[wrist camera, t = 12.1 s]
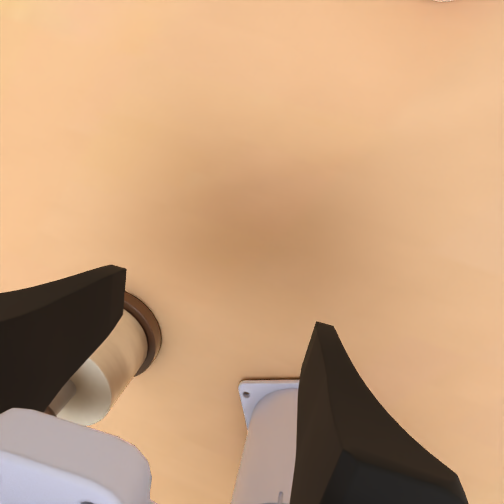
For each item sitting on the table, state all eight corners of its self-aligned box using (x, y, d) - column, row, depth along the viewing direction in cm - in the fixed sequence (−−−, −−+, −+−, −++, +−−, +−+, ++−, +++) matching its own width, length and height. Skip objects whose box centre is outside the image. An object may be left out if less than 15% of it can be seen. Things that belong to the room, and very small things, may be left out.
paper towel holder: (155, 381, 29) (38, 570, 17) (69, 355, 30) (-100, 519, 18) (167, 303, 27) (39, 462, 15) (73, 275, 27) (-123, 407, 15)
